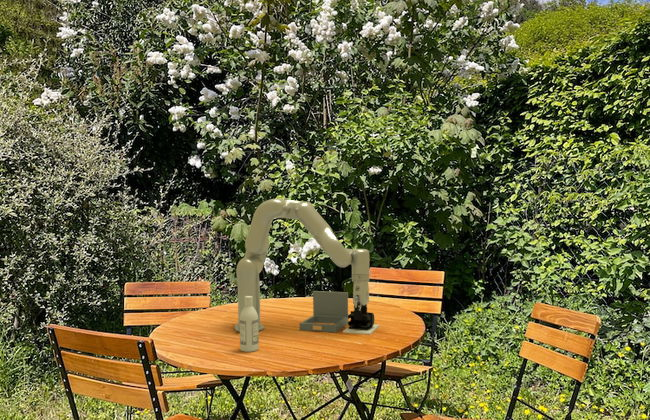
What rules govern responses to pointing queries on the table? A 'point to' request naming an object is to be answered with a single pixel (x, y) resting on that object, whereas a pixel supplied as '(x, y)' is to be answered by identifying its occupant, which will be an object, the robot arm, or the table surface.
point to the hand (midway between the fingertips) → (360, 317)
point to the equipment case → (327, 312)
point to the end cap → (361, 321)
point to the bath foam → (249, 327)
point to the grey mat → (361, 330)
